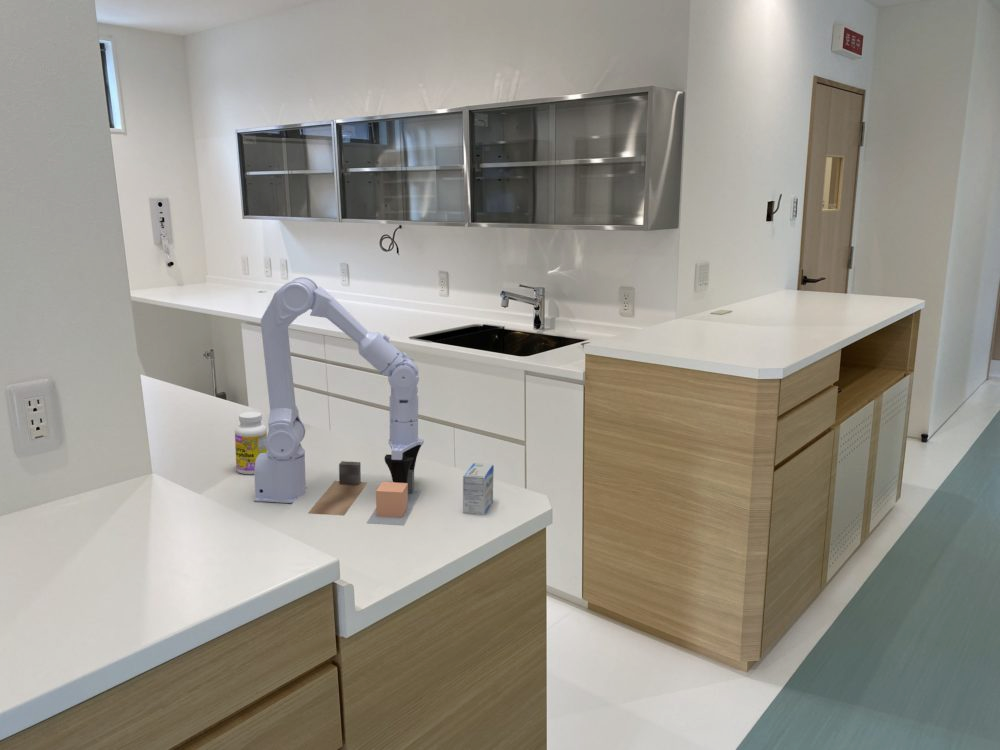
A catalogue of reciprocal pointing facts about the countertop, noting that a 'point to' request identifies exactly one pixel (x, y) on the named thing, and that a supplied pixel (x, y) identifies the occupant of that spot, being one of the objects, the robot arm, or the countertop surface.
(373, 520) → the slate strip
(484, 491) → the medicine box
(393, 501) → the terracotta block
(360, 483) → the walnut strip
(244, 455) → the supplement bottle
